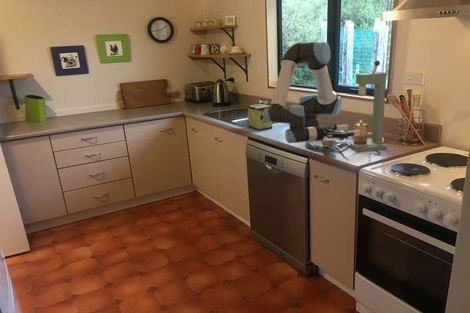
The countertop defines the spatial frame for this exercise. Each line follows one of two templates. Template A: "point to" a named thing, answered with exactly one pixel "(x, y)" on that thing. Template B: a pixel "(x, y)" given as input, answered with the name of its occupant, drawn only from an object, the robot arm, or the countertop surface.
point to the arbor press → (378, 108)
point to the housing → (361, 133)
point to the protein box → (258, 117)
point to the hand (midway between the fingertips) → (353, 129)
